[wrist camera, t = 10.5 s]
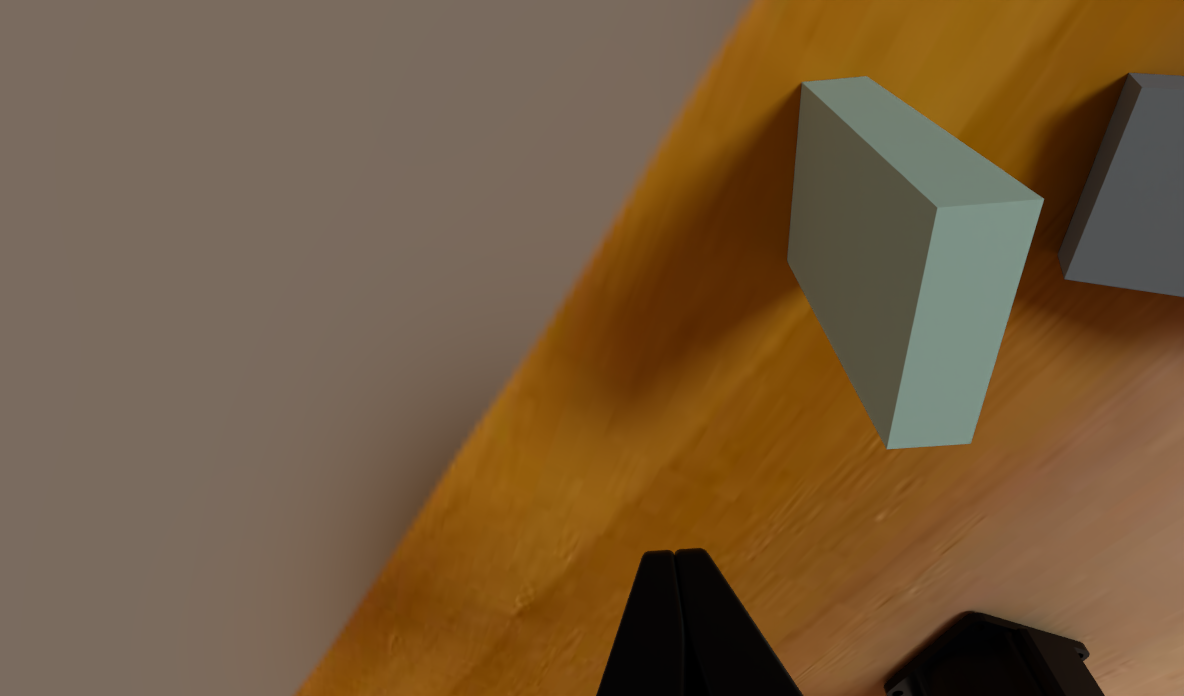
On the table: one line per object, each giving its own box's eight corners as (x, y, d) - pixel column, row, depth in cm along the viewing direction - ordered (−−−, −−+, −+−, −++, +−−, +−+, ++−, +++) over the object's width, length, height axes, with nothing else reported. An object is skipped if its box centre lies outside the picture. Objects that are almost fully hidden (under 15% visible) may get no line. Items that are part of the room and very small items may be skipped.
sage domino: (867, 76, 17) (1044, 199, 10) (842, 256, 20) (970, 443, 13) (801, 82, 17) (937, 208, 11) (786, 261, 20) (886, 448, 13)
